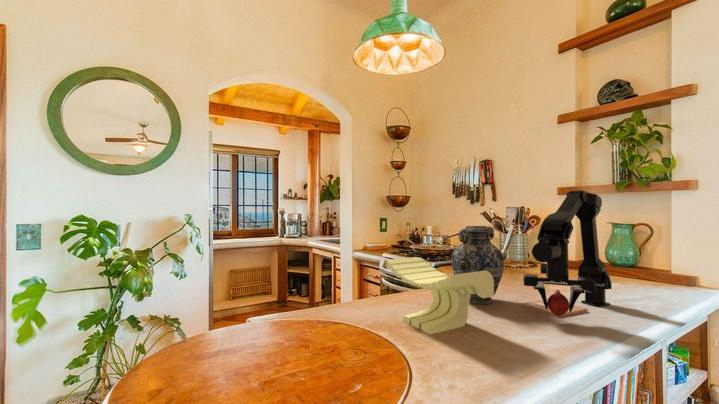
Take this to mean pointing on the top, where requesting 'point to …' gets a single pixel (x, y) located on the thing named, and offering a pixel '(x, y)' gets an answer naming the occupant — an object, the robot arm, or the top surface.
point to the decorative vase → (478, 257)
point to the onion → (558, 303)
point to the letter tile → (541, 308)
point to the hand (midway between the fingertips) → (558, 310)
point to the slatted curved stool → (441, 293)
